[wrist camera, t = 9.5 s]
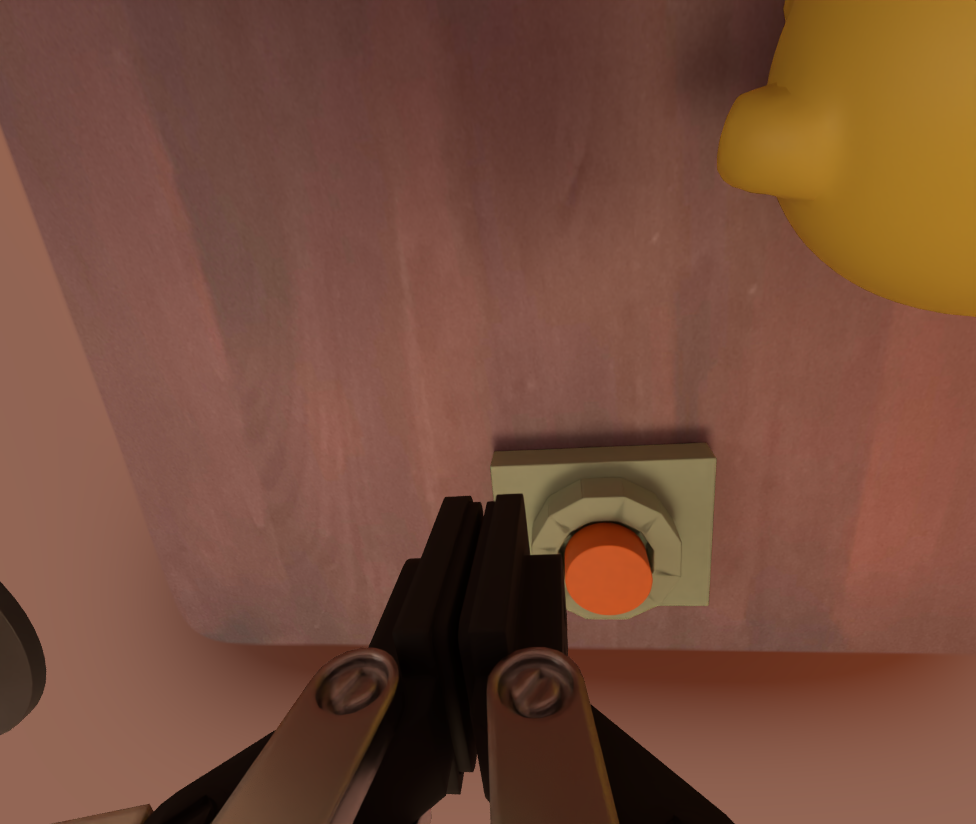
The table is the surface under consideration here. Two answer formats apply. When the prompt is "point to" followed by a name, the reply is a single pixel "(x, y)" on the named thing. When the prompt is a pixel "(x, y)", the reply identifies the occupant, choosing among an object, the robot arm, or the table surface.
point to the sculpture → (871, 143)
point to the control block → (622, 508)
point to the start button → (607, 569)
